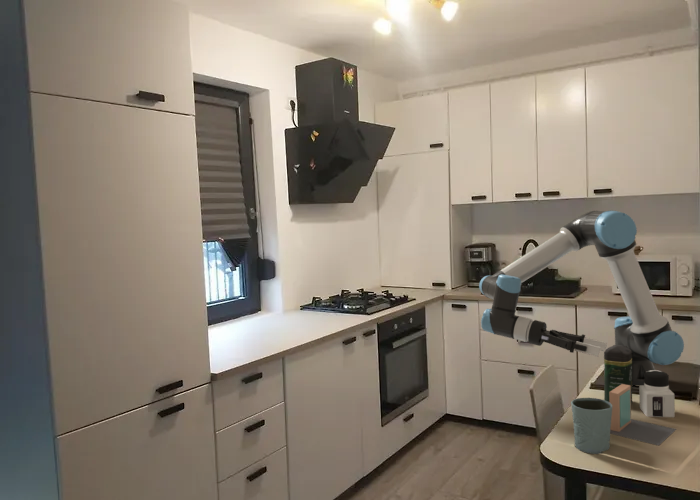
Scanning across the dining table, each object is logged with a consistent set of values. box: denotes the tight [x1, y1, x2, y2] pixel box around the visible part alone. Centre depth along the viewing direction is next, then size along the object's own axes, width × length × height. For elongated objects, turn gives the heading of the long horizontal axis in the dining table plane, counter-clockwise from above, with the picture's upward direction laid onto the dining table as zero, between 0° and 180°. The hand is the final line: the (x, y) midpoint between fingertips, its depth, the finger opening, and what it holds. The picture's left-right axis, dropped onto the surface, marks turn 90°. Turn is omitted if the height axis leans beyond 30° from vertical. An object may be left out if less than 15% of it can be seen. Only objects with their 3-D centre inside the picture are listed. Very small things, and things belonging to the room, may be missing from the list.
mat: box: [610, 418, 677, 446], centre depth 163 cm, size 14×16×1 cm
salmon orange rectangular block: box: [609, 384, 632, 432], centre depth 166 cm, size 9×3×11 cm, turn 134°
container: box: [638, 369, 676, 418], centre depth 175 cm, size 8×8×13 cm
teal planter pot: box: [570, 397, 612, 455], centre depth 155 cm, size 10×10×12 cm
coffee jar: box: [603, 344, 633, 404], centre depth 185 cm, size 10×8×19 cm
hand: (602, 349), depth 171 cm, fingers open, 13 cm apart
